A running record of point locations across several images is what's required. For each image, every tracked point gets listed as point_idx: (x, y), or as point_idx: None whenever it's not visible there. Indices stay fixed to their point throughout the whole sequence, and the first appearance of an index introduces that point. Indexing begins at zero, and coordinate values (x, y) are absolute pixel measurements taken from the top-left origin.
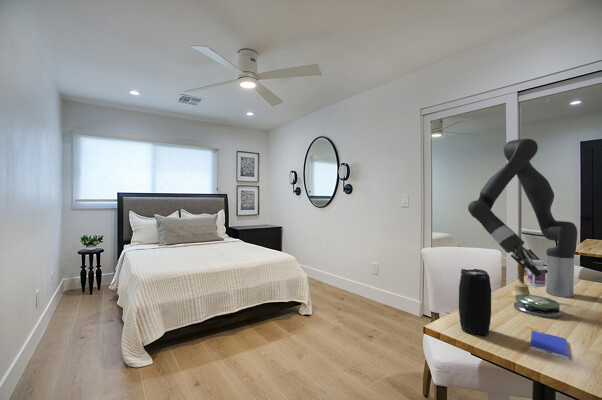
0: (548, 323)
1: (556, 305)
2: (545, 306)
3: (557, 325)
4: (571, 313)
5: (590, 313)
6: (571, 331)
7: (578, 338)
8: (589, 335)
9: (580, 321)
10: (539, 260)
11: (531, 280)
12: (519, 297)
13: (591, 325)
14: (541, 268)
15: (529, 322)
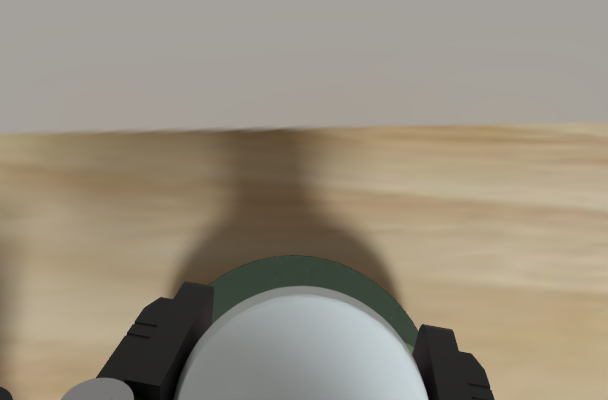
0: (495, 302)
1: (322, 268)
2: (412, 321)
3: (484, 263)
4: (181, 227)
5: (98, 153)
6: (514, 204)
7: (584, 176)
8: (494, 145)
9: (303, 183)
10: (253, 369)
11: None
12: None
13: (328, 143)
14: (385, 325)
15: (583, 388)
